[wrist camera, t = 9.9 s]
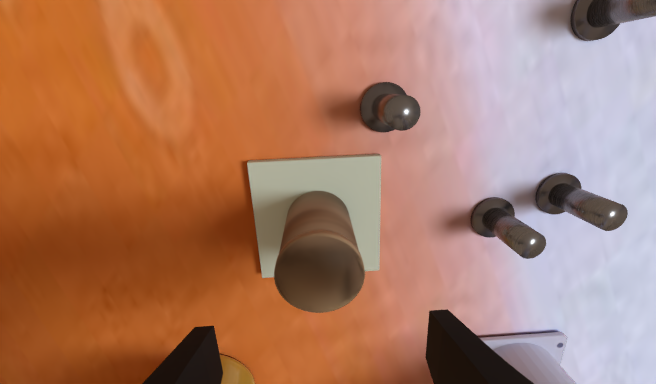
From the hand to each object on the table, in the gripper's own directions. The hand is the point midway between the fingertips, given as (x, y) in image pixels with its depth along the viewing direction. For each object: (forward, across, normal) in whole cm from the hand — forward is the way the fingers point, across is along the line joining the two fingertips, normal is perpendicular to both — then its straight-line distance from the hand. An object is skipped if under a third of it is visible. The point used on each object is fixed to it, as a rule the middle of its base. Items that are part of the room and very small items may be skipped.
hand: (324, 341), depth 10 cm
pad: (+10, 0, 0) cm, 10 cm away
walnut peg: (+10, 0, 0) cm, 10 cm away
